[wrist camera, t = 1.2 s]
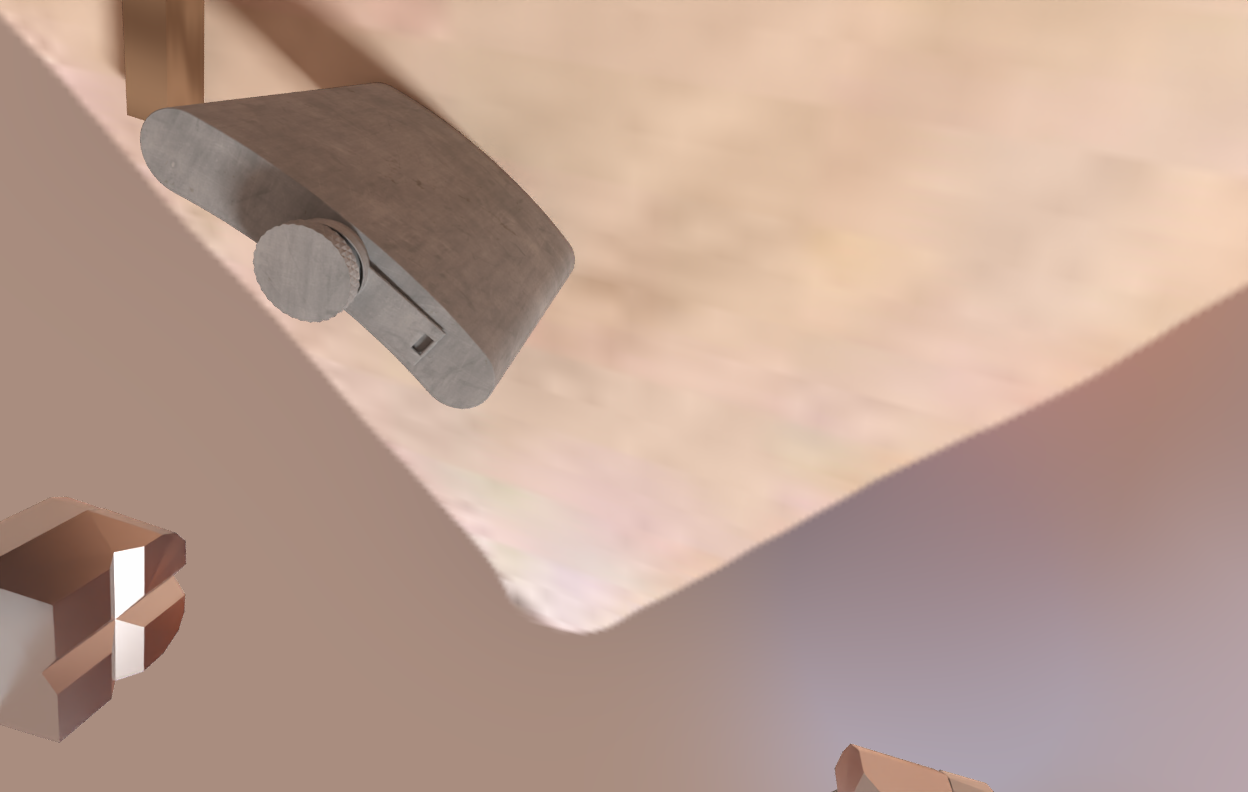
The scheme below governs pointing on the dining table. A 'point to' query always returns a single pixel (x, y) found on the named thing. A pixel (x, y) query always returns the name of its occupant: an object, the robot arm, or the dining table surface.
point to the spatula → (163, 54)
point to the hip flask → (373, 223)
